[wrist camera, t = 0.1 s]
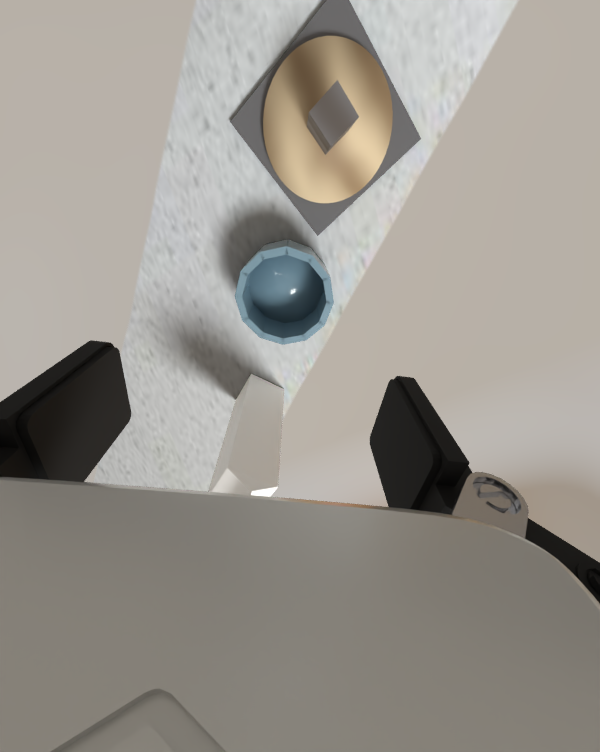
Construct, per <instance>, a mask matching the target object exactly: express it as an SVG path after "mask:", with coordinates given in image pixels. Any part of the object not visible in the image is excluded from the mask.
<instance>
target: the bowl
mask: <svg viewBox="0 0 600 752" xmlns="http://www.w3.org/2000/svg"><path fill="white" fill-rule="evenodd" d="M235 299H236V302H237V305H238V308H239V311H240V315H241V318H242V320H243V322H244V323H245V324H246V325H247V326H248V327H249V328H251V329H252V330H253V331H254V332H255V333H256V334H257V335H258V336H259V337H260V338H263V339H266V340H269V341H273V342H276V343H279V344H282V345H283V344H289V343H294V342H300V341H305V340H307V339H308V338H310V337H311V336H312V335H313V334H315V333H316V332H317V331H318V330H319V329H321V328H322V327H323V326H324V325H325V323H326V321H327V318H328V316H329V313H330V311H331V308H332V306H333V303H334V301H333V294H332V287H331V280H330V276H329V273H328V271H327V269H326V266H325V265H324V264H323V262H322V261H321V260H320V259H319V257H318V256H317V255H316V254H315V252H314V251H313V250H312V248H311V247H308V246H305V245H302V244H300V243H297V242H294V241H292V240H289V239H287V240H283V241H278V242H273V243H269V244H265V245H264V246H263V247H262V248H261V249H260V250H259V251H258V252H257V253H256V254H255V255H254V256H253V257H252V258H251V259H250V260H249V261H248V262H247V263H246V265H245V266H244V267H243V269H242V270H241V271H240V276H239V280H238V285H237V289H236V293H235Z"/></svg>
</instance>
